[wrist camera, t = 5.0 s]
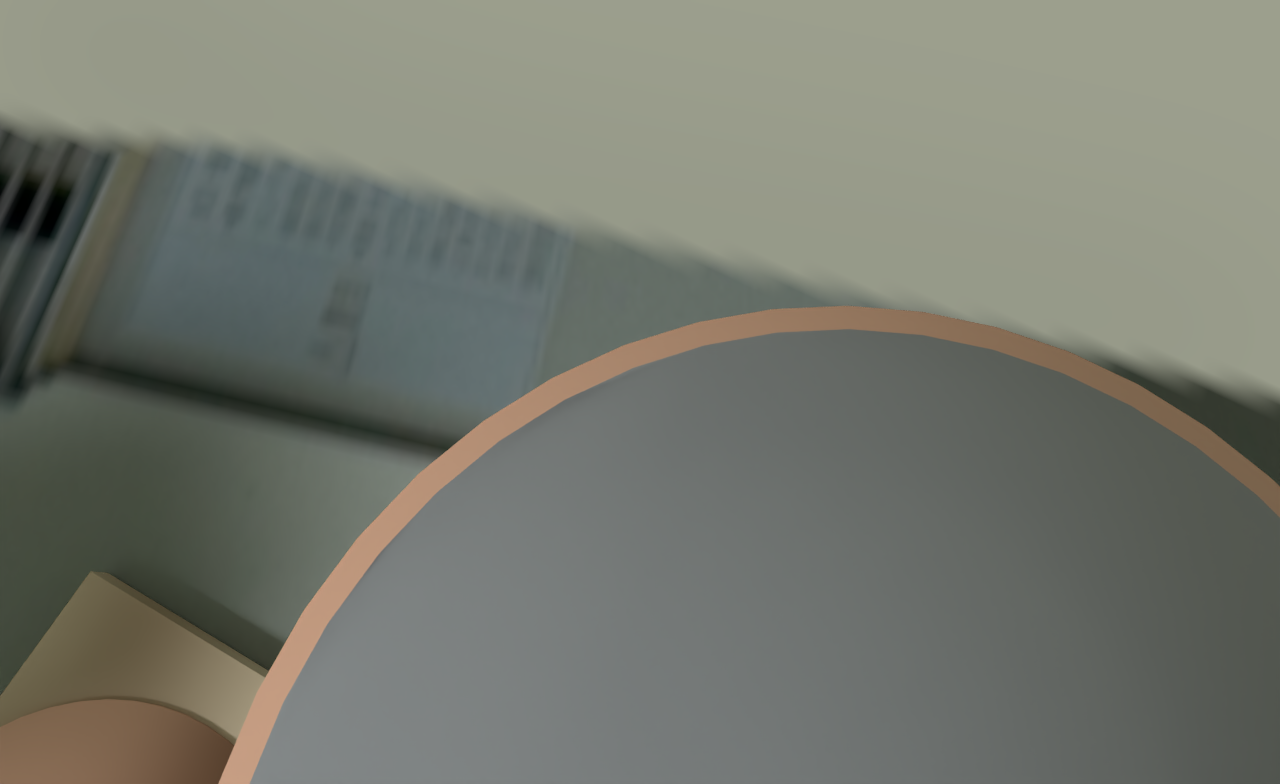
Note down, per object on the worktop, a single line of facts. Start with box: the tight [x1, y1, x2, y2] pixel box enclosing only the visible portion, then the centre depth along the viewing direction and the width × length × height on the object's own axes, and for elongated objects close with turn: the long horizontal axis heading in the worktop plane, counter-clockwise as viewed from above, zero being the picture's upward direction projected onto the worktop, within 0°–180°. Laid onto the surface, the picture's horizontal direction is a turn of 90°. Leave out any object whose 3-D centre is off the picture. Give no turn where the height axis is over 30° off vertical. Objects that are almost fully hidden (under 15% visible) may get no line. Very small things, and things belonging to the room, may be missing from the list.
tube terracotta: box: [218, 306, 1280, 784], centre depth 9 cm, size 5×5×12 cm
